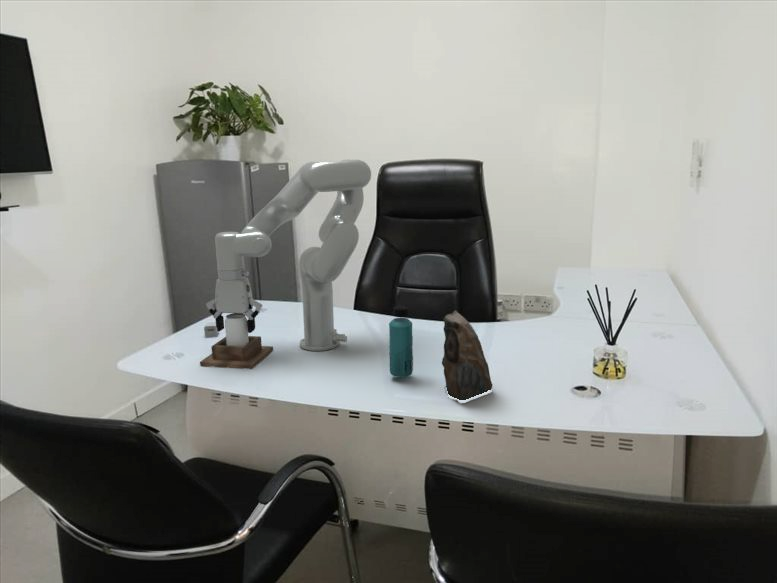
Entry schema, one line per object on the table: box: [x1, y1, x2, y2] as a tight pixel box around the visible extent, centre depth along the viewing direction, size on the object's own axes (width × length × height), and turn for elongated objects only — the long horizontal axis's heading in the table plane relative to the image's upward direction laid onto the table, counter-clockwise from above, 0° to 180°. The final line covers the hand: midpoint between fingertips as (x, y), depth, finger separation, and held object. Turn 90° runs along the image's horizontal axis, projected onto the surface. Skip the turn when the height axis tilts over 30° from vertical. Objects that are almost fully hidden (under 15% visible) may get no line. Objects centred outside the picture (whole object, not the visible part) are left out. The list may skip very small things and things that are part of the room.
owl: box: [441, 310, 493, 400], centre depth 136 cm, size 13×13×20 cm
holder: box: [199, 335, 274, 370], centre depth 163 cm, size 16×16×5 cm
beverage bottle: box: [388, 305, 414, 378], centre depth 145 cm, size 6×7×20 cm
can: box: [224, 313, 249, 347], centre depth 162 cm, size 6×6×12 cm
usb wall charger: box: [203, 321, 220, 338], centre depth 186 cm, size 4×7×4 cm, turn 9°
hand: (236, 330), depth 162 cm, fingers open, 9 cm apart
